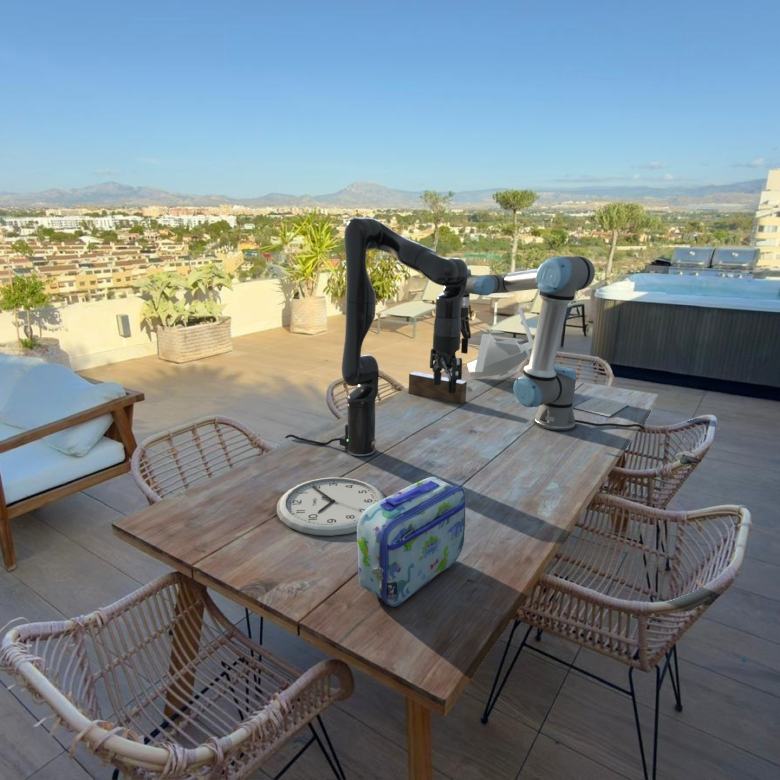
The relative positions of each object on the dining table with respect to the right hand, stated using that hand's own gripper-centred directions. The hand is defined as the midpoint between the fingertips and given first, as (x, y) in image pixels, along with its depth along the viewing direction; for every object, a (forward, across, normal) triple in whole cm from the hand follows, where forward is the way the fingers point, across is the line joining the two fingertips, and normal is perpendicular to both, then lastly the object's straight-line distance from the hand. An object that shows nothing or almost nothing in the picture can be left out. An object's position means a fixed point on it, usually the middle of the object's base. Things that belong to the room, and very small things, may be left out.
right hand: (457, 356), depth 225 cm
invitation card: (+21, -30, +55) cm, 66 cm away
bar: (+20, 0, -9) cm, 22 cm away
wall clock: (+21, +101, +13) cm, 104 cm away
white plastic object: (+20, -38, +9) cm, 44 cm away
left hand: (-8, +71, +30) cm, 78 cm away
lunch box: (+21, +115, +47) cm, 126 cm away
